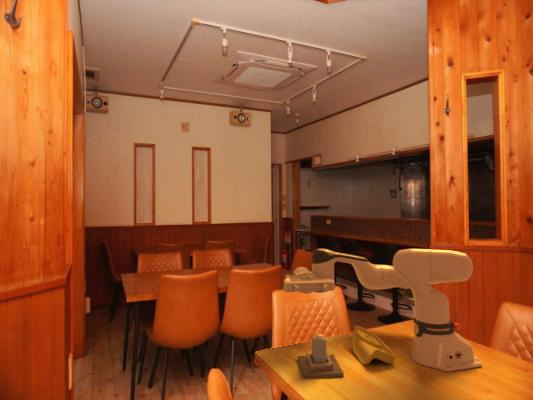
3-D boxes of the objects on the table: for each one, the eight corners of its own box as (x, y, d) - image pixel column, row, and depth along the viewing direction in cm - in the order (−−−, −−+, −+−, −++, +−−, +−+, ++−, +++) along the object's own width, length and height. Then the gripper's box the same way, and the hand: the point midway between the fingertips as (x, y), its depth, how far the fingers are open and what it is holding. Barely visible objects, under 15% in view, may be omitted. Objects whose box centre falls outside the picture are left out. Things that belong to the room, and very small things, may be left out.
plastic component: (398, 358, 125) (373, 347, 124) (389, 377, 125) (364, 367, 124) (374, 333, 145) (353, 323, 143) (366, 350, 145) (345, 340, 144)
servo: (323, 360, 126) (323, 331, 126) (326, 367, 121) (326, 336, 122) (312, 360, 126) (311, 331, 126) (314, 367, 121) (314, 336, 121)
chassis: (333, 358, 131) (333, 349, 131) (343, 376, 117) (343, 367, 117) (297, 359, 130) (297, 350, 130) (303, 378, 116) (303, 368, 116)
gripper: (331, 288, 152) (339, 297, 138) (282, 290, 151) (285, 299, 137) (330, 273, 152) (339, 280, 138) (281, 275, 151) (285, 282, 137)
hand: (312, 289), depth 138 cm, fingers open, 8 cm apart
